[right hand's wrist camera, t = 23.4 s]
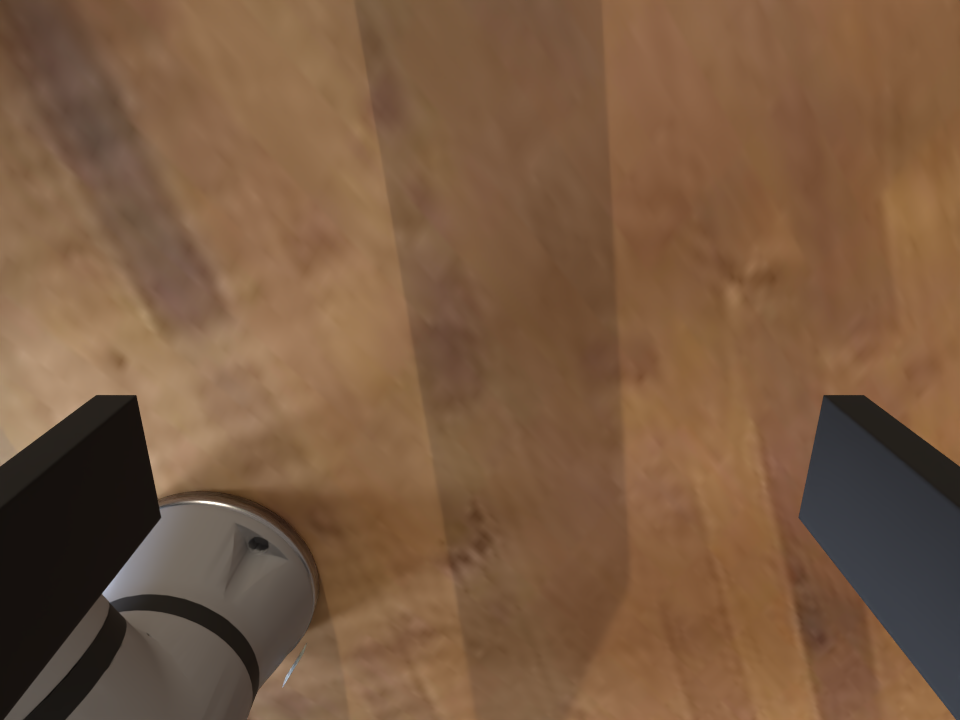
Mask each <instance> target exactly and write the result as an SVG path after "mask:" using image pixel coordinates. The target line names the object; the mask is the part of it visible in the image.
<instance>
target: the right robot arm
mask: <svg viewBox="0 0 960 720" xmlns="http://www.w3.org/2000/svg"><path fill="white" fill-rule="evenodd" d="M799 519H800V520H801V521H802V523H803V524H804V525H805V527H806V528H807V529H808V530H809V532H810V533H811V534H812V536H813V537H814V538H815V539H816V541H817V542H818V543H819V544H820V546H821V547H822V548H823V550H824V551H825V552H826V553H827V555H828V556H829V557H830V559H831V560H832V561H833V562H834V564H835V565H836V566H837V568H838V569H839V570H840V571H841V573H842V574H843V575H844V577H845V578H846V579H847V580H848V582H849V583H850V584H851V585H852V587H853V588H854V589H855V591H856V592H857V593H858V594H859V596H860V597H861V598H862V600H863V601H864V602H865V603H866V605H867V606H868V607H869V609H870V610H871V611H872V612H873V614H874V615H875V616H876V618H877V619H878V620H879V621H880V623H881V624H882V625H883V626H884V628H885V629H886V630H887V632H888V633H889V634H890V635H891V637H892V638H893V639H894V641H895V642H896V643H897V644H898V646H899V647H900V648H901V650H902V651H903V652H904V653H905V655H906V656H907V657H908V659H909V660H910V661H911V662H912V664H913V665H914V666H915V667H916V669H917V670H918V671H919V673H920V674H921V675H922V676H923V678H924V679H925V680H926V682H927V683H928V684H929V685H930V687H931V688H932V689H933V691H934V692H935V693H936V694H937V696H938V697H939V698H940V699H941V701H942V702H943V703H944V705H945V706H946V707H947V708H948V710H949V711H950V712H951V714H952V715H953V716H954V717H955V719H956V720H960V466H958V465H957V464H955V463H954V462H953V461H951V460H950V459H949V458H947V457H946V456H945V455H943V454H942V453H941V452H939V451H938V450H937V449H935V448H934V447H933V446H931V445H930V444H929V443H927V442H926V441H925V440H923V439H922V438H921V437H919V436H918V435H917V434H915V433H914V432H912V431H911V430H910V429H908V428H907V427H906V426H904V425H903V424H902V423H900V422H899V421H898V420H896V419H895V418H894V417H892V416H891V415H890V414H888V413H887V412H886V411H884V410H883V409H882V408H880V407H879V406H878V405H876V404H875V403H874V402H872V401H871V400H870V399H868V398H867V397H865V396H864V395H824V396H823V401H822V406H821V411H820V416H819V421H818V426H817V430H816V435H815V440H814V445H813V450H812V455H811V460H810V465H809V469H808V474H807V479H806V484H805V489H804V494H803V499H802V504H801V508H800V513H799ZM318 594H319V578H318V572H317V567H316V564H315V561H314V559H313V556H312V554H311V552H310V550H309V549H308V547H307V545H306V544H305V542H304V541H303V539H302V538H301V537H300V535H299V534H298V533H297V532H296V531H295V530H294V529H293V528H292V527H291V526H290V525H289V524H288V523H287V522H286V521H284V520H283V519H282V518H281V517H279V516H278V515H276V514H275V513H273V512H272V511H270V510H269V509H267V508H265V507H263V506H261V505H259V504H257V503H255V502H252V501H250V500H247V499H244V498H241V497H238V496H234V495H230V494H225V493H219V492H209V491H196V492H185V493H179V494H175V495H171V496H167V497H165V498H162V499H159V500H158V499H157V494H156V489H155V484H154V479H153V474H152V469H151V465H150V460H149V455H148V450H147V445H146V440H145V435H144V430H143V426H142V421H141V416H140V411H139V406H138V401H137V396H136V395H96V396H95V397H93V398H92V399H90V400H89V401H88V402H86V403H85V404H84V405H82V406H81V407H80V408H78V409H77V410H76V411H74V412H73V413H72V414H70V415H69V416H68V417H66V418H65V419H64V420H62V421H61V422H60V423H58V424H57V425H56V426H54V427H53V428H52V429H50V430H49V431H48V432H46V433H45V434H43V435H42V436H41V437H39V438H38V439H37V440H35V441H34V442H33V443H31V444H30V445H29V446H27V447H26V448H25V449H23V450H22V451H21V452H19V453H18V454H17V455H15V456H14V457H13V458H11V459H10V460H9V461H7V462H6V463H5V464H3V465H2V466H0V720H247V718H248V715H249V712H250V709H251V707H252V704H253V701H254V699H255V696H256V694H257V691H258V690H259V688H260V687H261V686H262V685H263V684H264V683H265V681H266V680H267V679H268V678H269V677H270V676H271V674H272V673H273V672H274V671H275V670H276V668H277V667H278V666H279V665H280V664H281V662H282V661H283V660H284V659H285V657H286V656H287V655H288V654H289V653H290V652H291V651H292V650H293V649H294V648H295V647H296V646H297V644H298V643H299V642H300V640H301V638H302V637H303V636H304V634H305V632H306V631H307V629H308V627H309V624H310V622H311V619H312V616H313V613H314V610H315V607H316V603H317V600H318ZM306 645H307V643H306ZM306 645H305V646H304V648H303V650H302V651H301V653H300V655H299V656H298V658H297V659H296V661H295V663H294V664H293V666H292V668H291V669H290V671H289V672H288V674H287V676H286V678H285V681H284V684H285V683H286V681H287V679H288V678H289V676H290V675H291V673H292V671H293V670H294V668H295V666H296V665H297V663H298V662H299V660H300V658H301V657H302V655H303V654H304V651H305V648H306ZM284 684H283V686H284Z"/></svg>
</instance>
